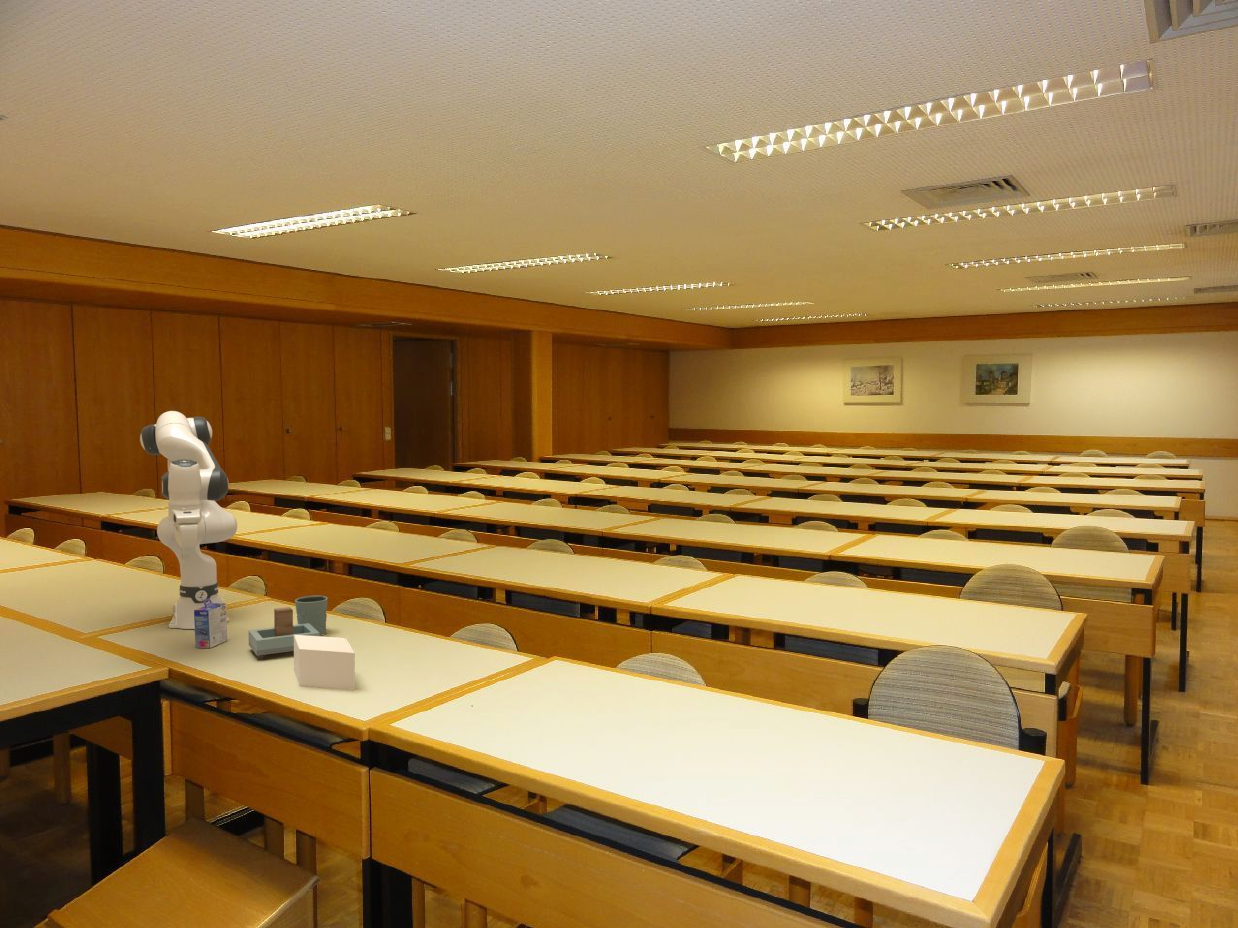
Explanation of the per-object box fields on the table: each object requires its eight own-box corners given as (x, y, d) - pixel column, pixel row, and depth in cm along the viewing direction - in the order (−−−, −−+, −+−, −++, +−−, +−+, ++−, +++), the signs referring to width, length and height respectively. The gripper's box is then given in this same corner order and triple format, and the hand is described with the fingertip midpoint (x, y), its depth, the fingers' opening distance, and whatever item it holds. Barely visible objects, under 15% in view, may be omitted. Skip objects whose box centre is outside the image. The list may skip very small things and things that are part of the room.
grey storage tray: (248, 649, 260) (248, 630, 259) (308, 641, 270) (308, 623, 269) (257, 661, 248) (256, 640, 248) (319, 652, 258) (319, 632, 258)
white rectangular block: (330, 697, 218) (330, 658, 217) (270, 675, 235) (270, 639, 235) (377, 684, 229) (377, 647, 229) (316, 664, 247) (316, 629, 246)
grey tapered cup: (334, 632, 282) (334, 597, 281) (310, 639, 273) (310, 603, 272) (312, 628, 287) (312, 594, 286) (288, 635, 278) (288, 599, 277)
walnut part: (274, 640, 259) (274, 608, 259) (289, 638, 262) (289, 606, 261) (277, 643, 256) (277, 611, 255) (293, 641, 258) (292, 609, 257)
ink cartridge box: (212, 639, 271) (211, 595, 270) (228, 640, 270) (227, 596, 270) (193, 648, 261) (193, 602, 260) (210, 648, 261) (209, 602, 260)
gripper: (169, 511, 257) (170, 556, 258) (176, 518, 240) (177, 566, 241) (192, 510, 260) (193, 554, 261) (201, 517, 243) (201, 564, 244)
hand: (185, 560), depth 251 cm, fingers closed
